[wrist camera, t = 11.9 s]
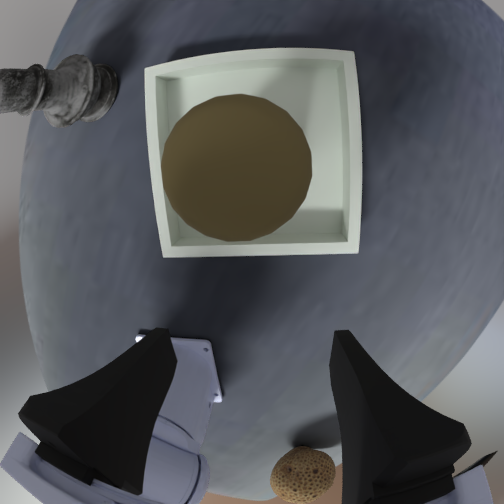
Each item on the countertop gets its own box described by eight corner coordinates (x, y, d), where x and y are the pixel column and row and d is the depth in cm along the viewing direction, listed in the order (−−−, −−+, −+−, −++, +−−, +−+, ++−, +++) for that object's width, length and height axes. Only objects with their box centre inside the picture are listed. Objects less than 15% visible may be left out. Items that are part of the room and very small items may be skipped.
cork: (307, 191, 18) (346, 250, 8) (223, 208, 19) (165, 281, 9) (289, 107, 16) (308, 53, 6) (203, 127, 17) (115, 109, 7)
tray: (349, 241, 20) (358, 253, 17) (174, 245, 21) (163, 257, 19) (345, 61, 15) (353, 51, 12) (158, 75, 16) (144, 68, 14)
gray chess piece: (126, 108, 17) (-3, 111, 6) (76, 136, 18) (-39, 162, 7) (115, 49, 15) (1, 21, 4) (66, 80, 16) (-41, 82, 5)
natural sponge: (278, 430, 30) (275, 495, 20) (341, 431, 29) (349, 492, 20) (268, 455, 33) (264, 508, 24) (322, 456, 33) (325, 507, 24)
